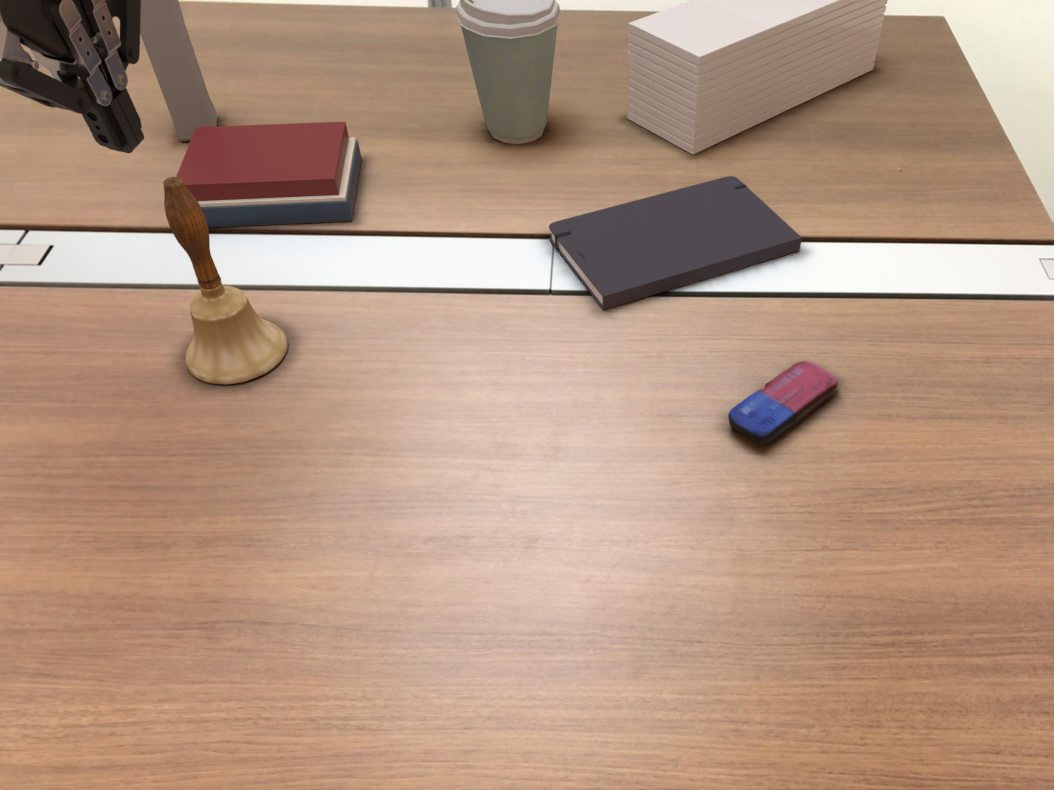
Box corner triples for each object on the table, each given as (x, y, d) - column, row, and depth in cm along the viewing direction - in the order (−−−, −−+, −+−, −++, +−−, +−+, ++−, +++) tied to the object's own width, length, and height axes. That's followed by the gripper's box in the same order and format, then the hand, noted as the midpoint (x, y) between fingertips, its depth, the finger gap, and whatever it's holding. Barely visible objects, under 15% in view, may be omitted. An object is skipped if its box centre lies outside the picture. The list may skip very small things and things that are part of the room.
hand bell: (184, 332, 80) (109, 162, 69) (283, 314, 82) (227, 145, 71) (187, 394, 75) (106, 223, 63) (292, 373, 77) (234, 203, 65)
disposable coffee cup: (531, 100, 110) (522, -37, 99) (584, 137, 104) (581, -4, 93) (453, 125, 105) (434, -15, 94) (503, 166, 100) (489, 22, 89)
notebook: (602, 310, 84) (800, 251, 90) (602, 296, 82) (802, 237, 89) (546, 237, 91) (732, 187, 98) (545, 223, 90) (734, 174, 97)
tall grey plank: (218, 117, 105) (132, -139, 87) (216, 139, 102) (127, -122, 84) (183, 121, 105) (89, -136, 86) (180, 143, 102) (83, -119, 83)
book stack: (352, 221, 92) (342, 181, 89) (184, 229, 91) (168, 188, 88) (362, 159, 100) (353, 120, 97) (208, 165, 99) (194, 125, 95)
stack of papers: (808, 41, 122) (821, -48, 114) (873, 69, 117) (892, -22, 109) (627, 119, 107) (628, 22, 99) (692, 155, 102) (699, 56, 94)
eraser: (805, 366, 79) (809, 349, 78) (844, 389, 77) (848, 372, 76) (718, 429, 74) (720, 412, 72) (758, 455, 72) (761, 439, 70)
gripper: (-3, -220, 50) (129, 75, 64) (-187, -106, 43) (9, 197, 57) (124, -196, 49) (229, 97, 63) (-41, -75, 42) (120, 224, 56)
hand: (124, 144), depth 60 cm, fingers closed
